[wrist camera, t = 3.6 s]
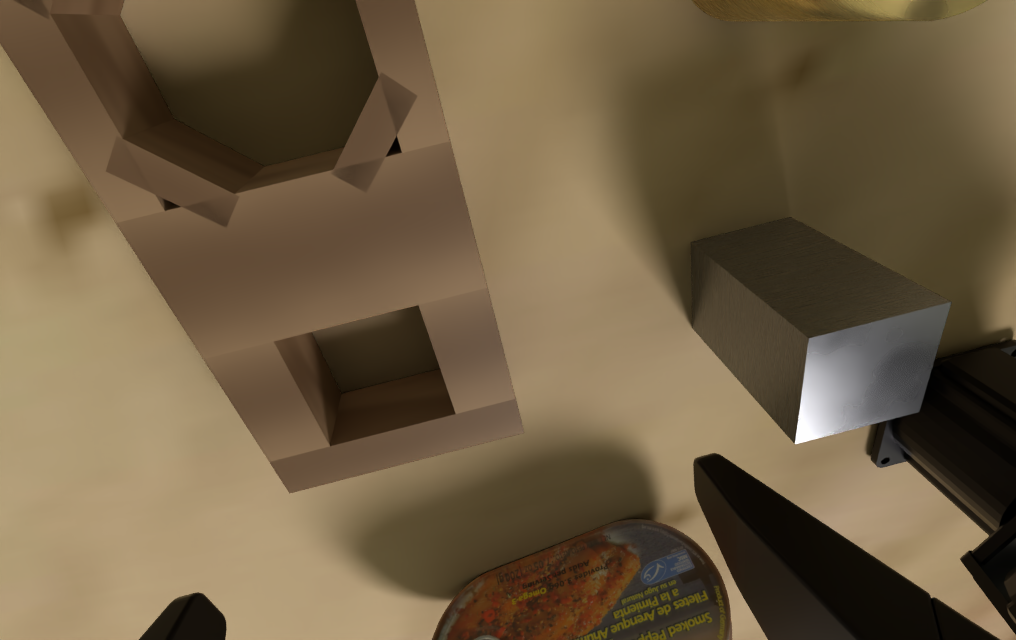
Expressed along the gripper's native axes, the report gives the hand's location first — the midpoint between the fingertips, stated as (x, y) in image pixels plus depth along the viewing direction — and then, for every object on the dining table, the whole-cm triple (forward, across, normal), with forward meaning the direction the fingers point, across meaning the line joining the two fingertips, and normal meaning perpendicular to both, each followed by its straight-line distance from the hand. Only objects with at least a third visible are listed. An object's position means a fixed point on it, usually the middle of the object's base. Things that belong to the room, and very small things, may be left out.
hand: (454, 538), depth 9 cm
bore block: (+11, +3, -3) cm, 12 cm away
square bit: (+11, -12, +4) cm, 16 cm away
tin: (+12, -1, +19) cm, 22 cm away
